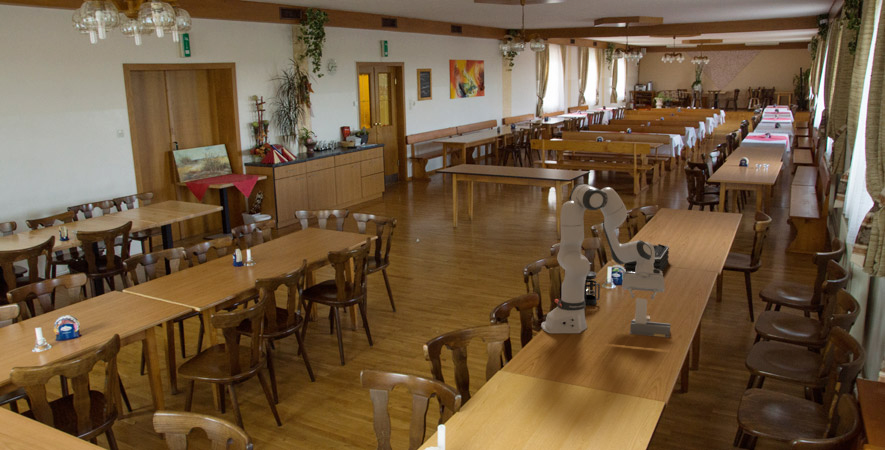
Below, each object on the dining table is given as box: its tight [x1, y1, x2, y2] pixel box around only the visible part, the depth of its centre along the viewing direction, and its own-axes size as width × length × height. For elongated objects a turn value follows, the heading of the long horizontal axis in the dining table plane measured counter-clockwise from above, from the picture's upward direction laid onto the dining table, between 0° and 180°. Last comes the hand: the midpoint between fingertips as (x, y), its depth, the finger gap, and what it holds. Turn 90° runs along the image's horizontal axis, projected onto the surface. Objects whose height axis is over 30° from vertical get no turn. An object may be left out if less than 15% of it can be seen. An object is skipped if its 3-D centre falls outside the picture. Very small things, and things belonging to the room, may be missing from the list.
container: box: [623, 243, 670, 272], centre depth 430 cm, size 22×35×13 cm, turn 153°
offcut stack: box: [632, 315, 651, 322], centre depth 327 cm, size 8×5×5 cm, turn 70°
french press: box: [584, 261, 601, 307], centre depth 364 cm, size 12×9×23 cm
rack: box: [629, 319, 671, 338], centre depth 322 cm, size 18×14×5 cm
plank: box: [634, 297, 648, 324], centre depth 321 cm, size 5×2×16 cm, turn 70°
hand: (642, 297), depth 326 cm, fingers open, 8 cm apart
